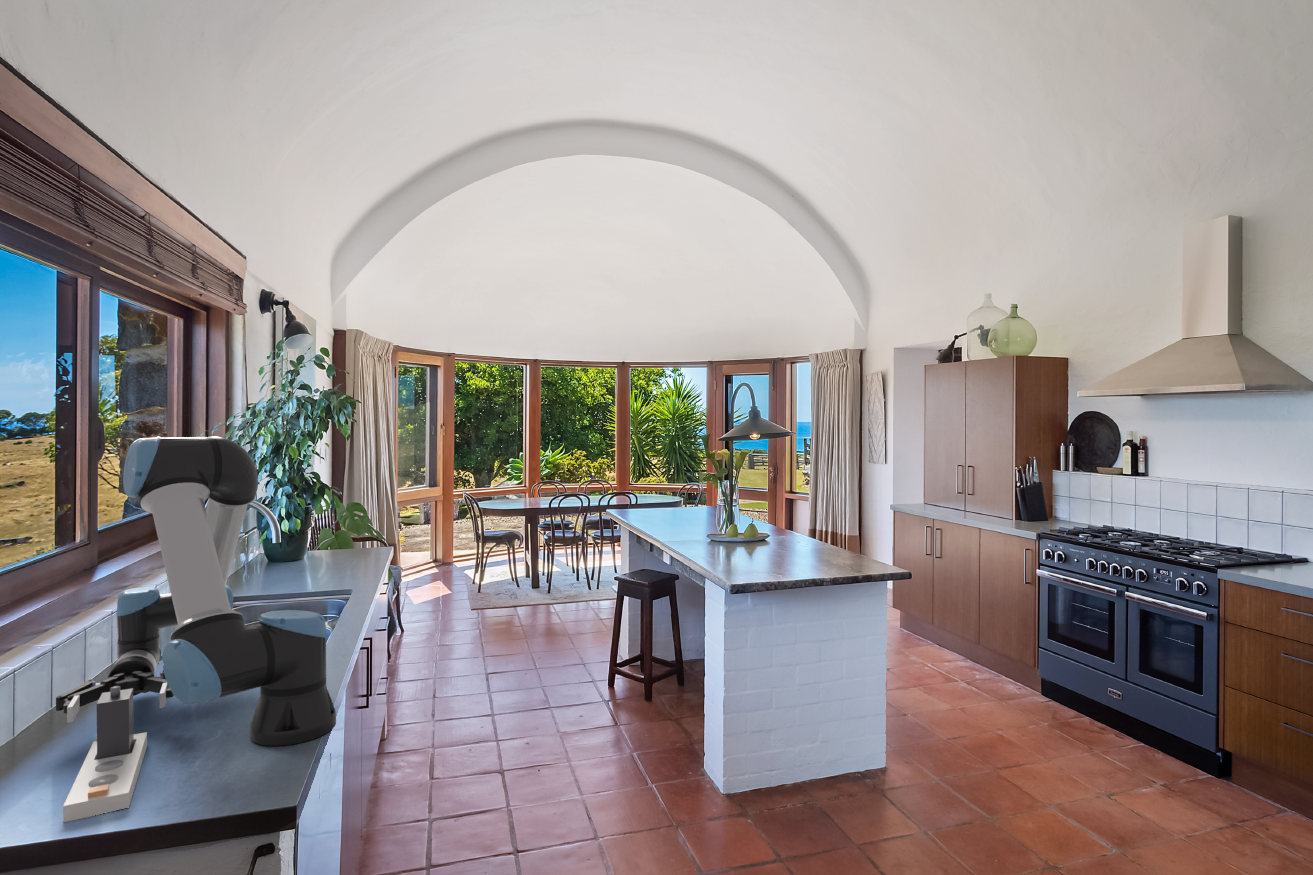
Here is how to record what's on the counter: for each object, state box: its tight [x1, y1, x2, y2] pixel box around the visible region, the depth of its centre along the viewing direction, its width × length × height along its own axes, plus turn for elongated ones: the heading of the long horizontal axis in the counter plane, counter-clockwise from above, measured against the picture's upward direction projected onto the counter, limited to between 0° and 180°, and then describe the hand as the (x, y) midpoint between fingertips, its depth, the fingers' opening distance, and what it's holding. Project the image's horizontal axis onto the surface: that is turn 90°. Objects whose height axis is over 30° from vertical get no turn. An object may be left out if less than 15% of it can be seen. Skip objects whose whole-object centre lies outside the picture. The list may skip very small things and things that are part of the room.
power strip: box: [62, 731, 148, 823], centre depth 122 cm, size 26×8×3 cm, turn 30°
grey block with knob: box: [96, 686, 135, 760], centre depth 128 cm, size 6×4×12 cm
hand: (117, 707), depth 132 cm, fingers open, 13 cm apart
